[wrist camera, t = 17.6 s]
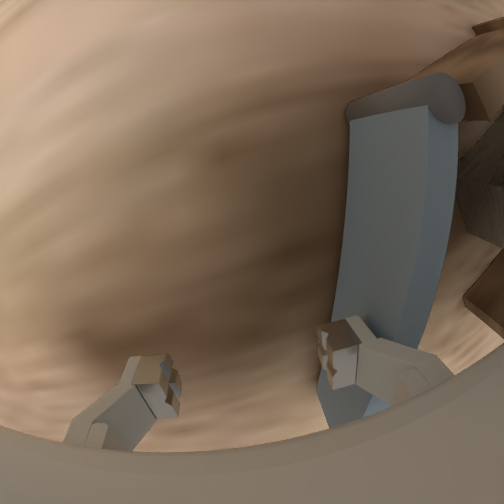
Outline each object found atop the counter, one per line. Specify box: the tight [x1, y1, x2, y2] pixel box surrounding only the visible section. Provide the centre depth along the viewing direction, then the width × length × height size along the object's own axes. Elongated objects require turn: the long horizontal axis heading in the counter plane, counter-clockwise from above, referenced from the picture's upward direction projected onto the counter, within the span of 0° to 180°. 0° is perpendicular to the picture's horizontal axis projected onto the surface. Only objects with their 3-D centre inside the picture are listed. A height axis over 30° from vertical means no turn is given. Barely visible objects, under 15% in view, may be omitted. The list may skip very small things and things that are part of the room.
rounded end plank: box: [316, 72, 466, 428], centre depth 10 cm, size 1×15×6 cm, turn 179°
